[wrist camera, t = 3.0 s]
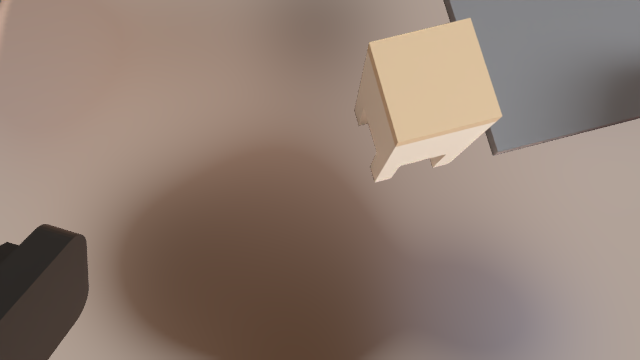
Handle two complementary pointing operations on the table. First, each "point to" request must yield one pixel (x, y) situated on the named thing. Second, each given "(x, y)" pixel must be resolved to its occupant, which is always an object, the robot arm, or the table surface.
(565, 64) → the trivet
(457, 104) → the stool
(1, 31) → the table surface
